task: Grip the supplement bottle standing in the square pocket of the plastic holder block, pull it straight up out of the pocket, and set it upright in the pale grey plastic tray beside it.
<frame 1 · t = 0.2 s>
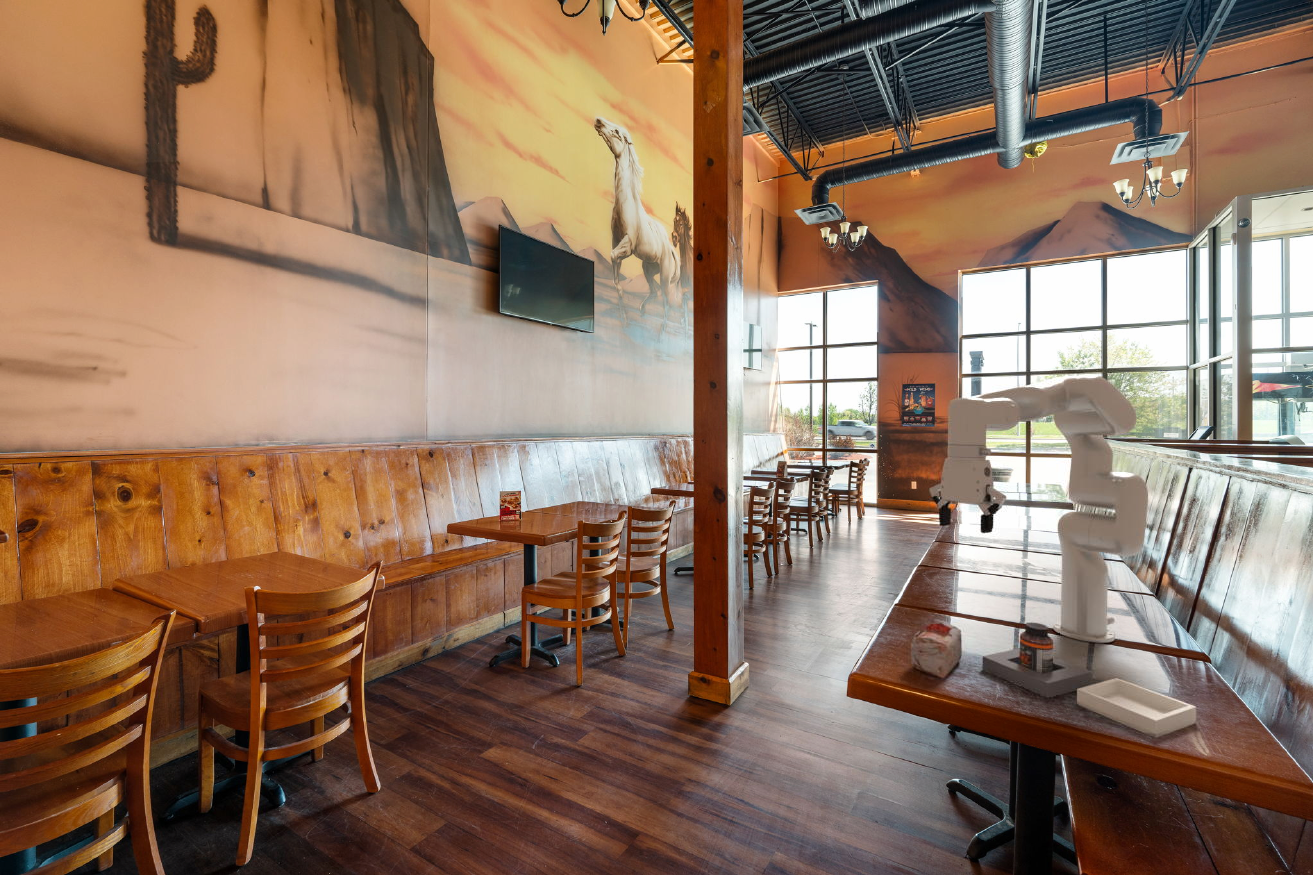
hand: (964, 528, 127), 30 cm above the table, tool pointing down, fingers open, 9 cm apart
holder: (1035, 677, 120), on the table
food item: (936, 668, 125), on the table
tray: (1134, 713, 105), on the table
supplement bottle: (1035, 678, 120), resting in holder
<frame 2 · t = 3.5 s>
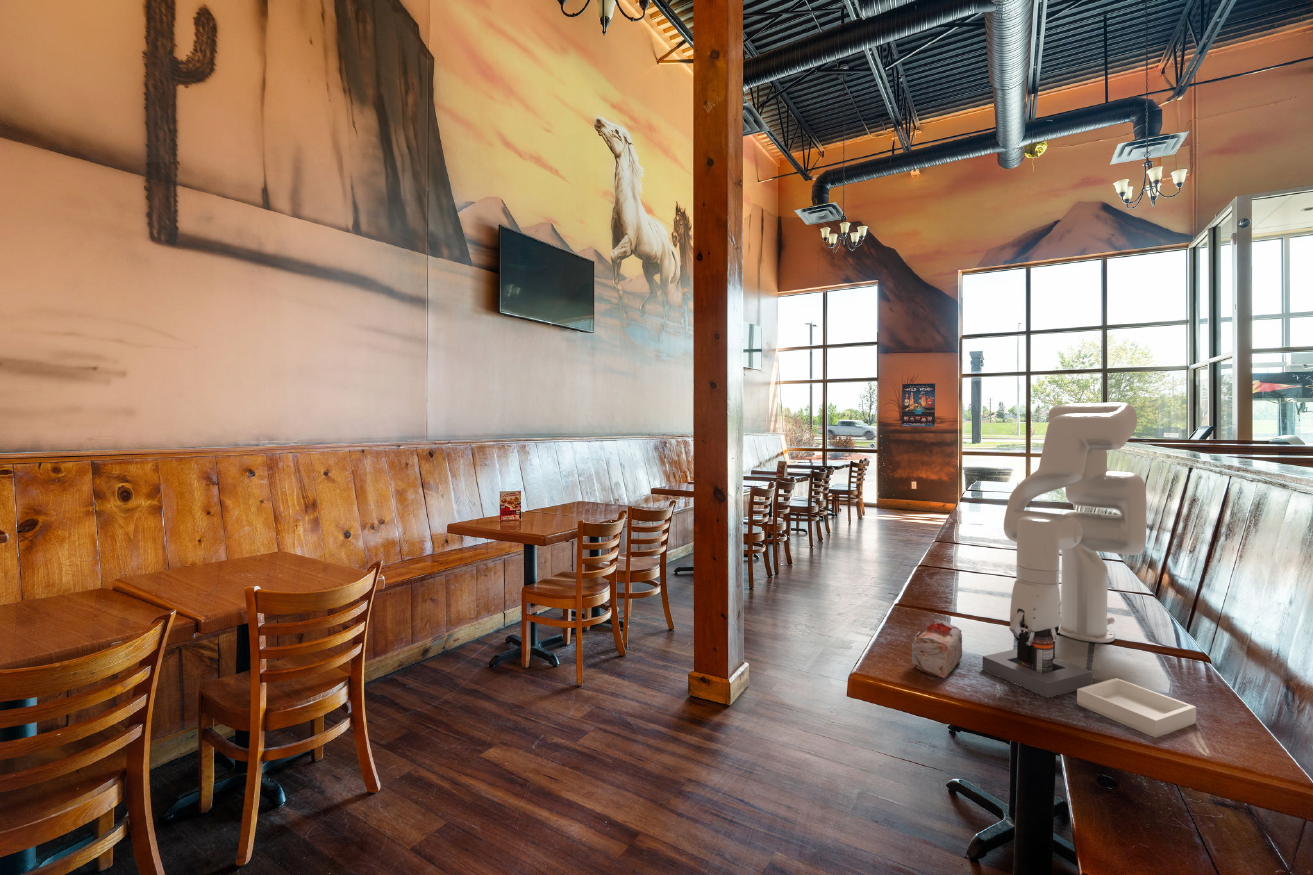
hand: (1035, 658, 120), 4 cm above the table, tool pointing down, fingers closed on supplement bottle, 6 cm apart
supplement bottle: (1035, 678, 120), resting in holder, touching gripper
everything else where it was.
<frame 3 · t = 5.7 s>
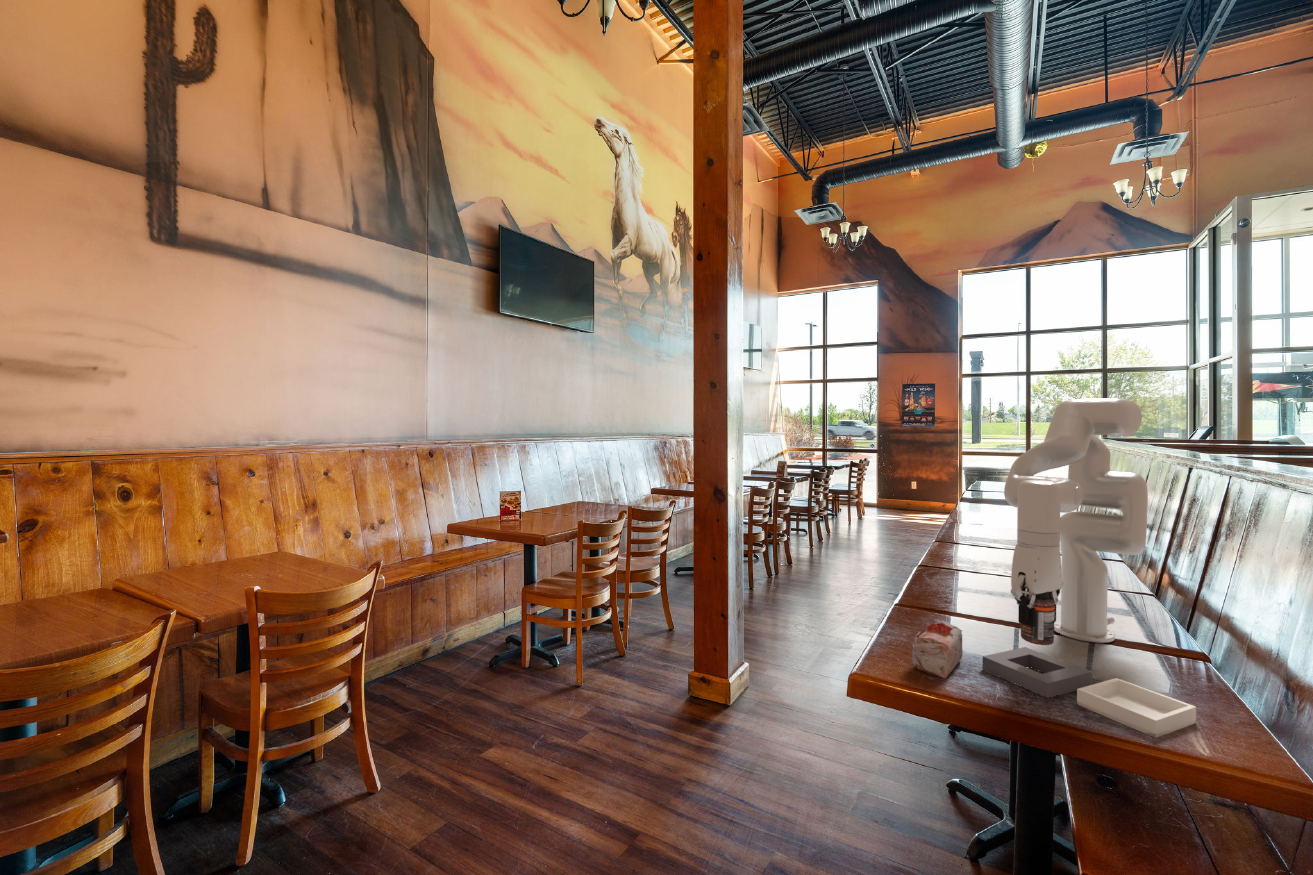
hand: (1037, 621, 120), 12 cm above the table, tool pointing down, fingers closed on supplement bottle, 6 cm apart
supplement bottle: (1037, 641, 120), point 8 cm above the table, touching gripper
everything else where it was.
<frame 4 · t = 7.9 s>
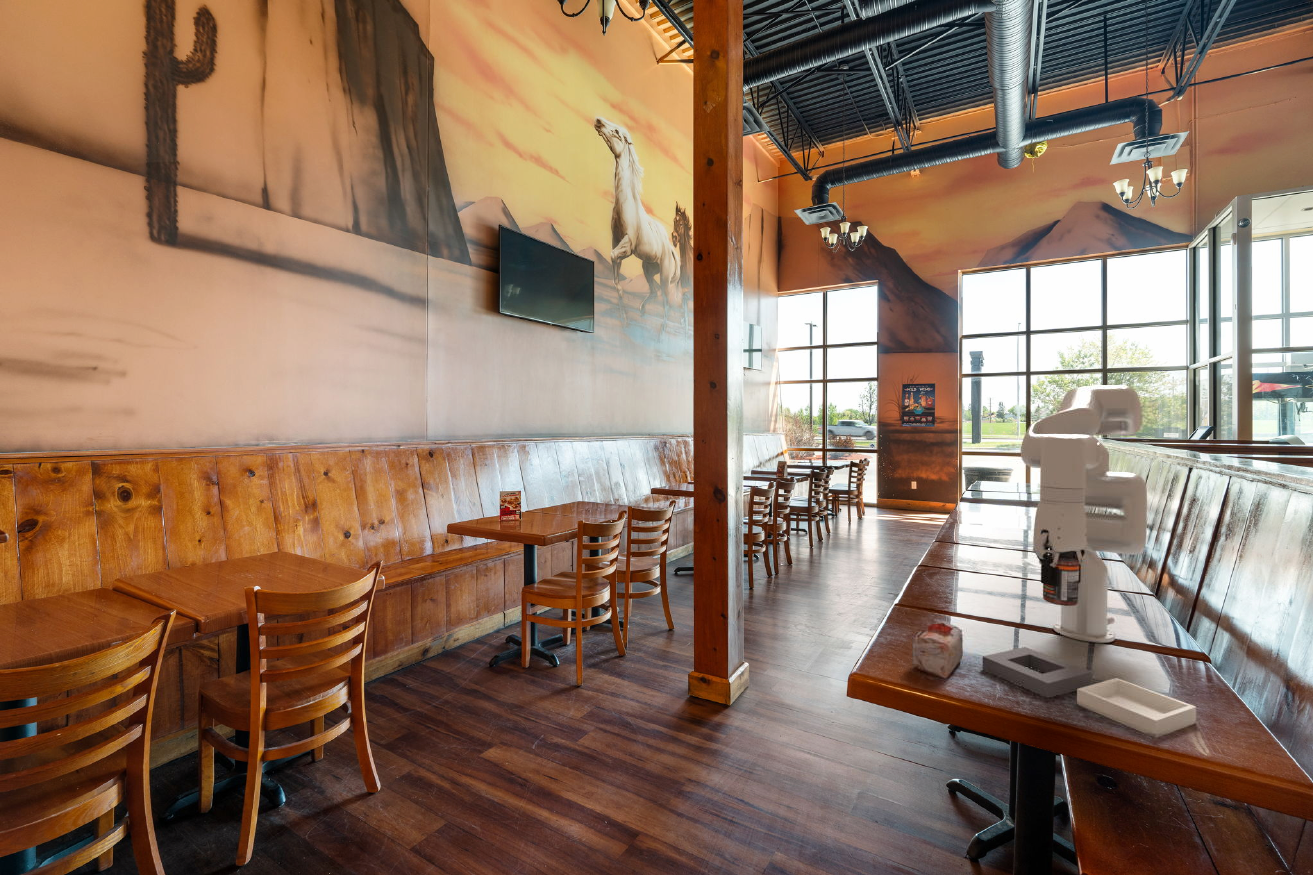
hand: (1060, 582, 115), 22 cm above the table, tool pointing down, fingers closed on supplement bottle, 6 cm apart
supplement bottle: (1060, 603, 116), point 17 cm above the table, touching gripper
everything else where it was.
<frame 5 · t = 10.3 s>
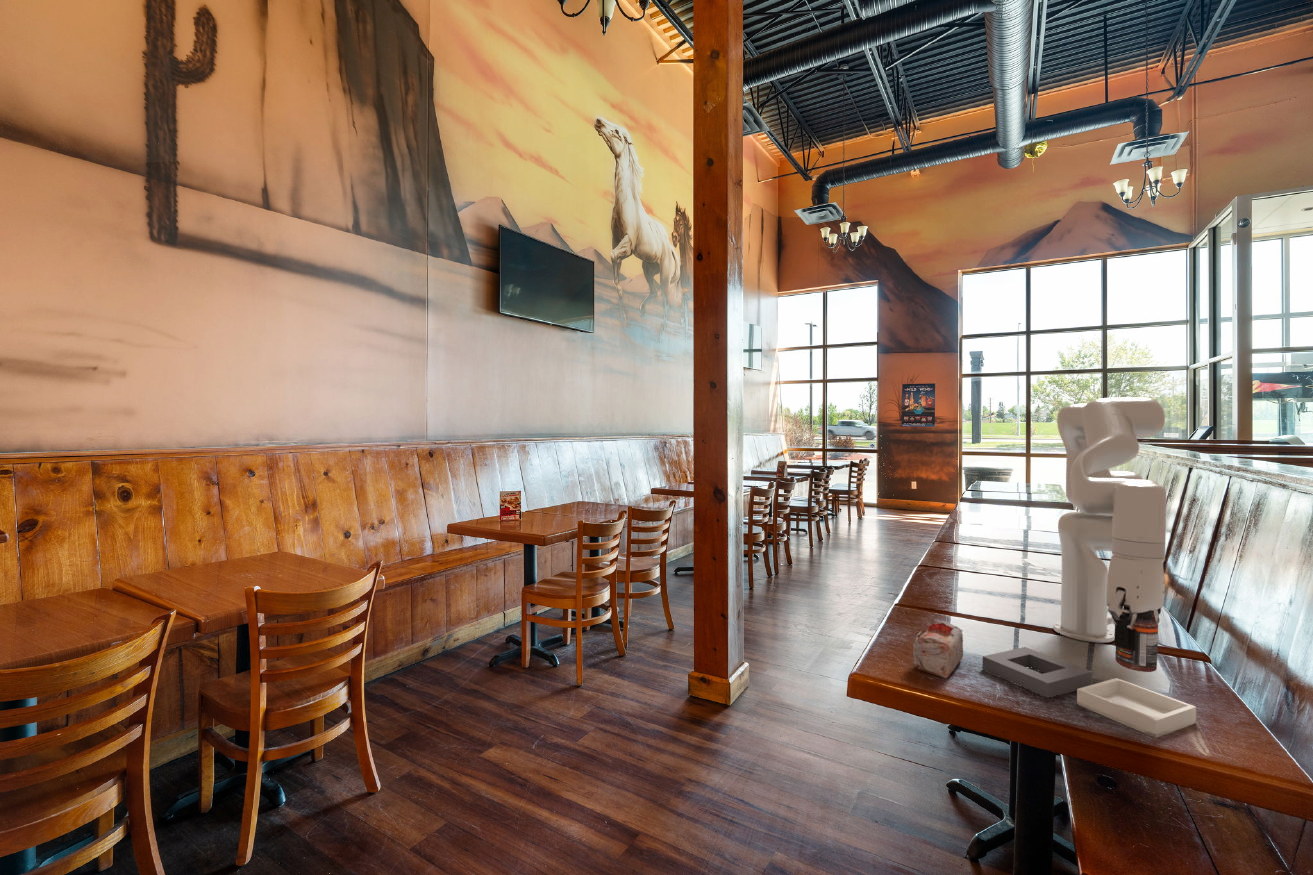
hand: (1136, 644, 104), 13 cm above the table, tool pointing down, fingers closed on supplement bottle, 6 cm apart
supplement bottle: (1135, 667, 105), point 9 cm above the table, touching gripper
everything else where it was.
when the fingers open (6 cm above the table, at t = 12.4 s): supplement bottle drops 1 cm, resting on tray.
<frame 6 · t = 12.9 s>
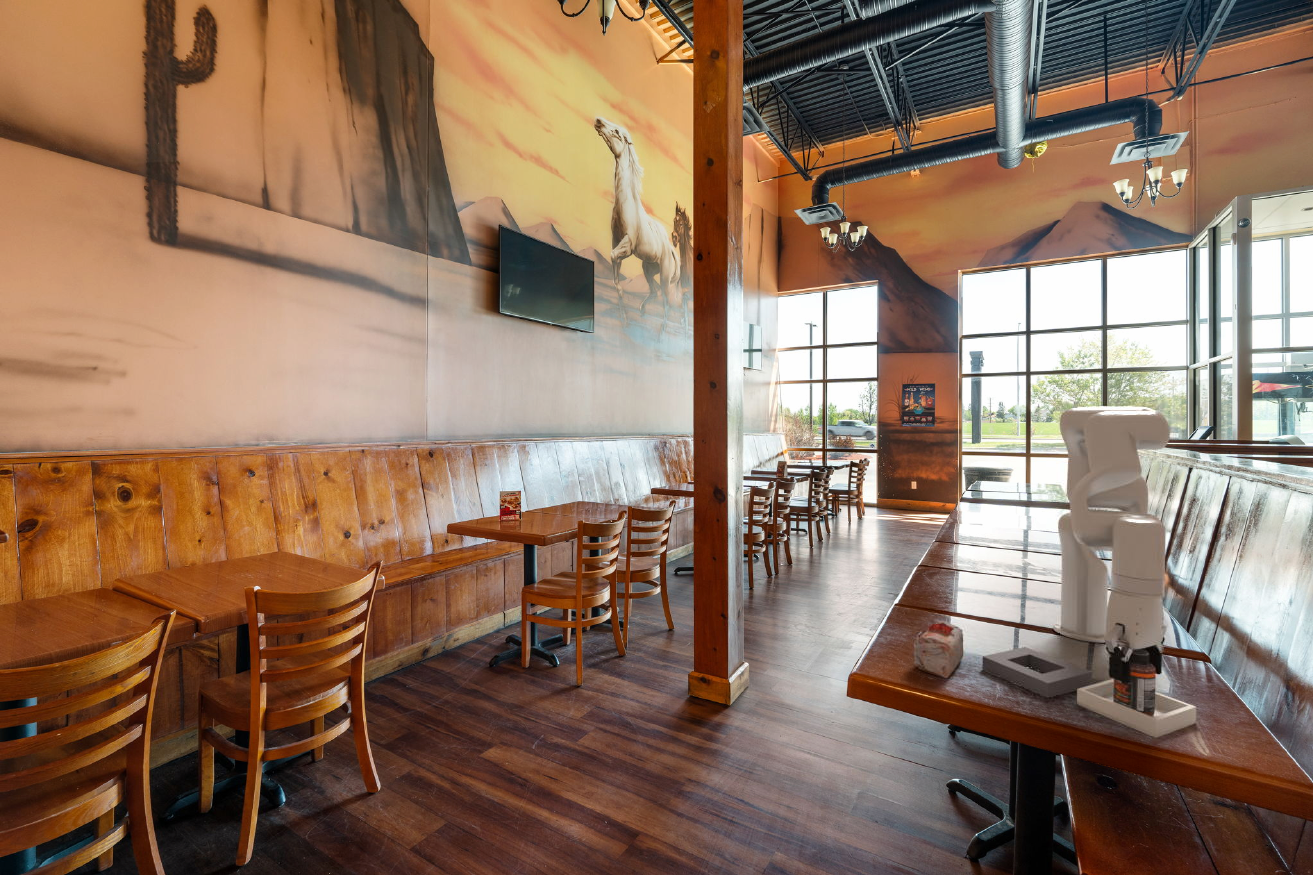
hand: (1135, 675, 105), 7 cm above the table, tool pointing down, fingers open, 9 cm apart
supplement bottle: (1133, 711, 105), resting on tray
everything else where it was.
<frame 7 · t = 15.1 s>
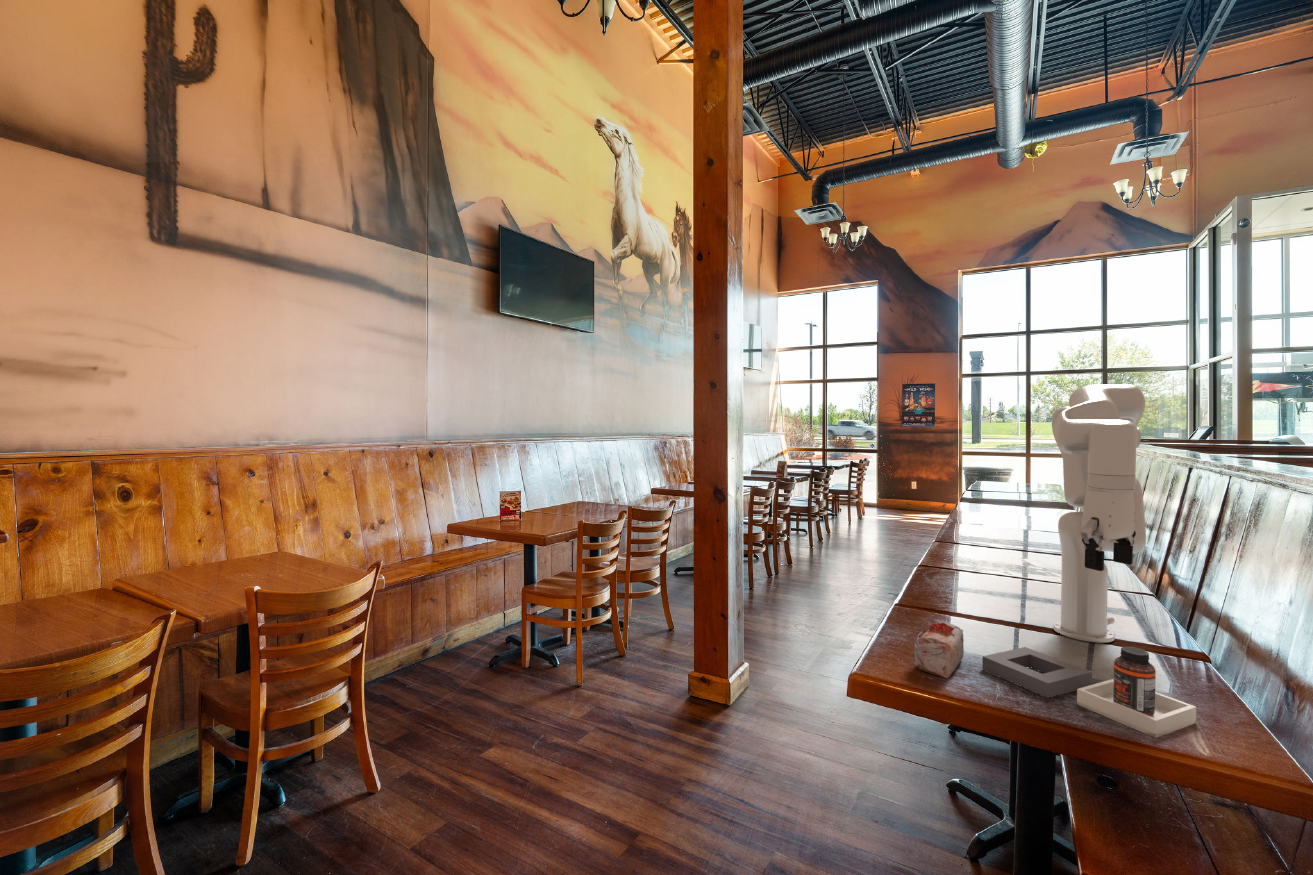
hand: (1108, 566, 114), 25 cm above the table, tool pointing down, fingers open, 9 cm apart
nothing on the table moved.
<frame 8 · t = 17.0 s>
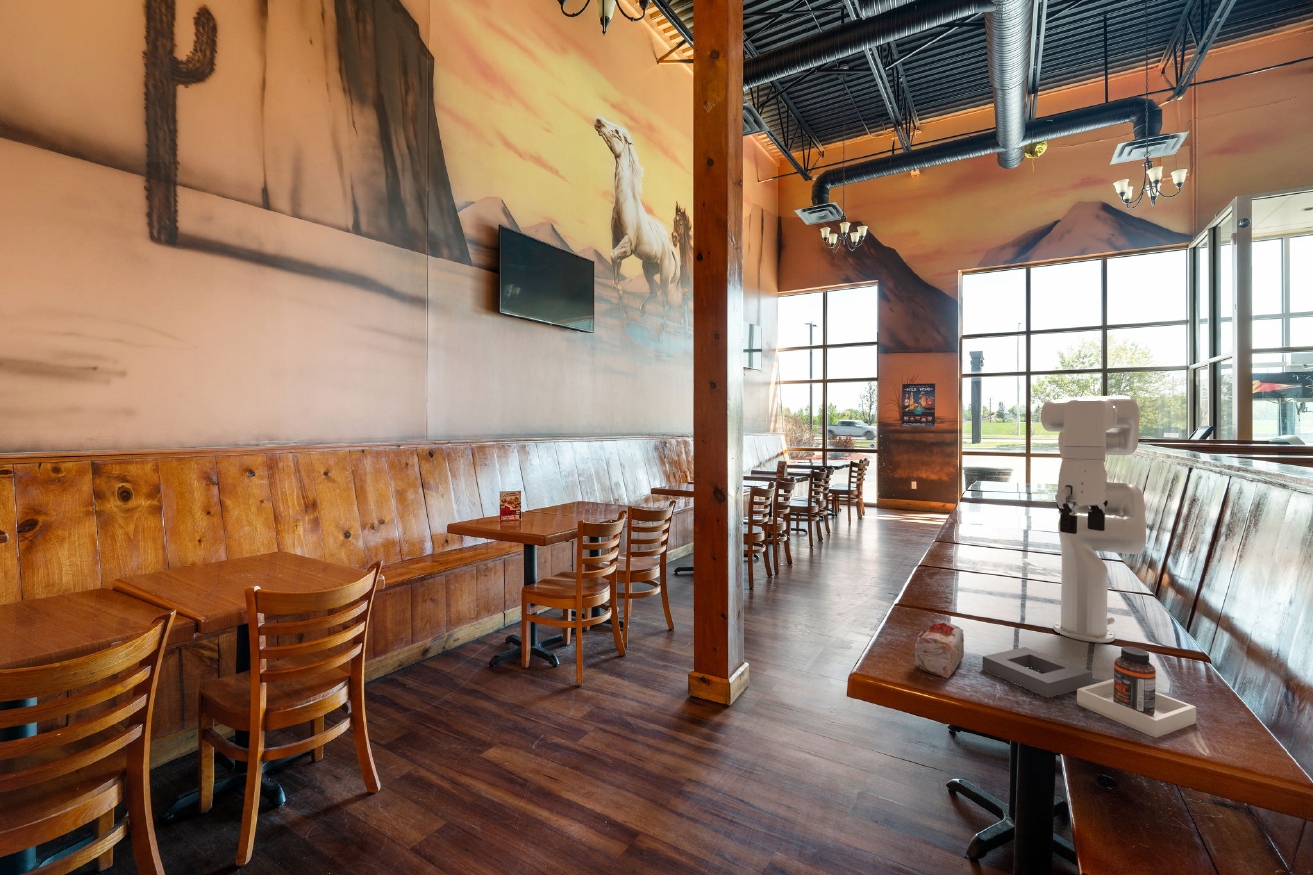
hand: (1082, 531, 125), 30 cm above the table, tool pointing down, fingers open, 9 cm apart
nothing on the table moved.
at the end: supplement bottle inside the target area on the tray (0.1 cm from its centre), point 0.4 cm above the tray's base; supplement bottle tilted 0°; the gripper is holding nothing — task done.
